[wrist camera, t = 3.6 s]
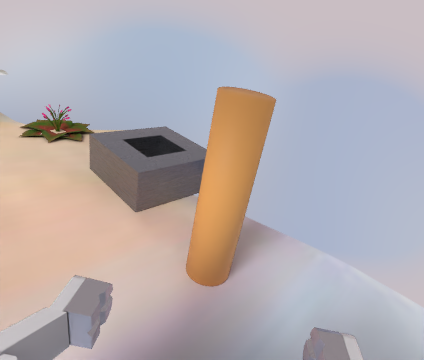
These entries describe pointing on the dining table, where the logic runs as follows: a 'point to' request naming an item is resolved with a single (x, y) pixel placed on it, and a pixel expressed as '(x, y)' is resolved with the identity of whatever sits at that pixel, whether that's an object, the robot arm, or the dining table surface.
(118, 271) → the dining table surface
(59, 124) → the green flowering plant
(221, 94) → the orange cylinder
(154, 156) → the gray square socket block
